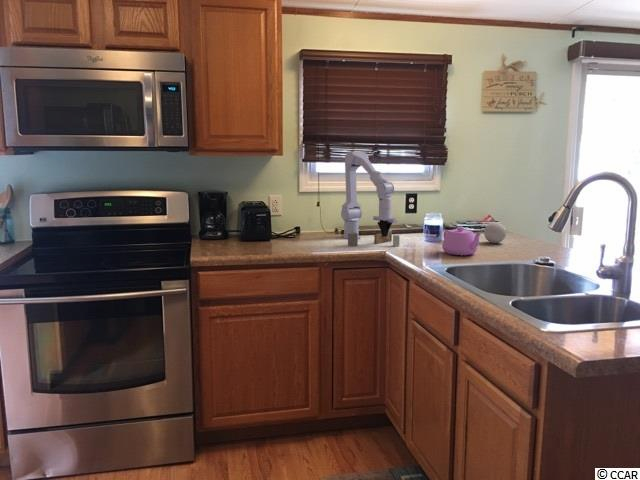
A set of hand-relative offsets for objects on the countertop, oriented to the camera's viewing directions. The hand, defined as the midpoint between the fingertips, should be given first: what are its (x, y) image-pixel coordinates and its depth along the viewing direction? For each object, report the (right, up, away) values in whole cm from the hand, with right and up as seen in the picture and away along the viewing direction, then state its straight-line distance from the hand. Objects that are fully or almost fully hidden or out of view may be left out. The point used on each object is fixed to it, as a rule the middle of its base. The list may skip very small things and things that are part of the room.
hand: (384, 236), depth 242 cm
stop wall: (+5, -4, -2) cm, 7 cm away
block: (-15, -4, 0) cm, 16 cm away
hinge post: (+4, -2, +12) cm, 12 cm away
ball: (+53, -3, +2) cm, 53 cm away
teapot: (+30, -8, -22) cm, 38 cm away
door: (0, -3, +6) cm, 7 cm away
